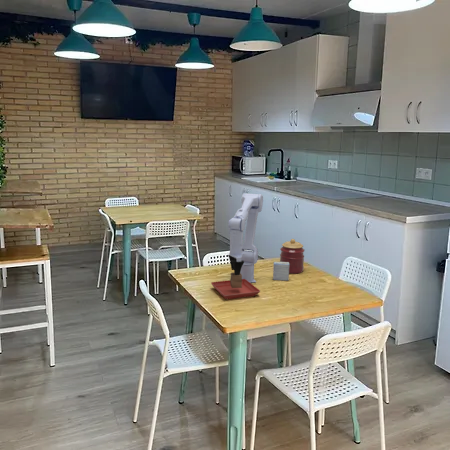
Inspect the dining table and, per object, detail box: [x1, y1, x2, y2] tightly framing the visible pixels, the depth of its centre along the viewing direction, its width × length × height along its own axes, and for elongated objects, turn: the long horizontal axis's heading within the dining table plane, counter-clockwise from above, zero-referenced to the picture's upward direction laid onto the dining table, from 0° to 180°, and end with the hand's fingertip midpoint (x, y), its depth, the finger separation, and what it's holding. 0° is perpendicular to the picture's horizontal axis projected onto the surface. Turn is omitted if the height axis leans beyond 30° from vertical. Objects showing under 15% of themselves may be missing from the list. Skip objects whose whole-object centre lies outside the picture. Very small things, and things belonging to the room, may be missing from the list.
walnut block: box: [229, 272, 242, 288], centre depth 210 cm, size 4×4×6 cm
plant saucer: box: [210, 279, 261, 300], centre depth 211 cm, size 18×18×3 cm
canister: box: [279, 238, 305, 274], centre depth 244 cm, size 13×13×18 cm
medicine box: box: [272, 261, 290, 281], centre depth 230 cm, size 8×4×9 cm, turn 84°
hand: (235, 272), depth 209 cm, fingers open, 7 cm apart
